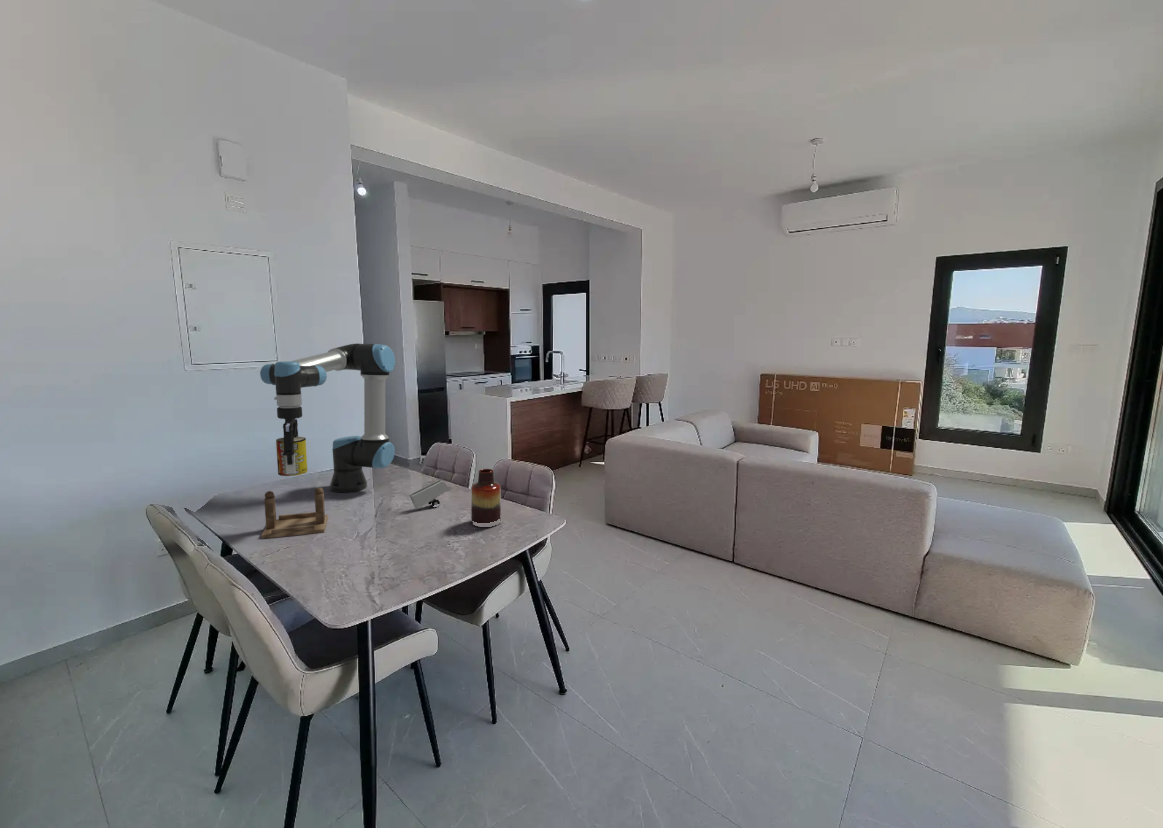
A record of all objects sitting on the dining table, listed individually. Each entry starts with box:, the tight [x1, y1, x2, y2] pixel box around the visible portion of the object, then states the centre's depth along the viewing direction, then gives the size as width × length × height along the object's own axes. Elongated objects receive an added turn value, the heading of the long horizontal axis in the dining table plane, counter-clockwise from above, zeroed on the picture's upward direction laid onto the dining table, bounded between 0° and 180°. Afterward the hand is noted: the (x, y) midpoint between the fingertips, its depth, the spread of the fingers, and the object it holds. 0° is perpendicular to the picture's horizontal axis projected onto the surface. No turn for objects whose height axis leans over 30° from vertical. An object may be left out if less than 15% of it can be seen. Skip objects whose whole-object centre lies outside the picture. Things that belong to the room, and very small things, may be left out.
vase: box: [470, 468, 502, 523], centre depth 192 cm, size 11×11×20 cm
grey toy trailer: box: [408, 479, 450, 510], centre depth 208 cm, size 4×10×15 cm
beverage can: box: [275, 436, 308, 477], centre depth 179 cm, size 9×9×12 cm
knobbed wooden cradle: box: [260, 487, 329, 540], centre depth 182 cm, size 19×15×14 cm
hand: (293, 469), depth 180 cm, fingers closed on beverage can, 9 cm apart
